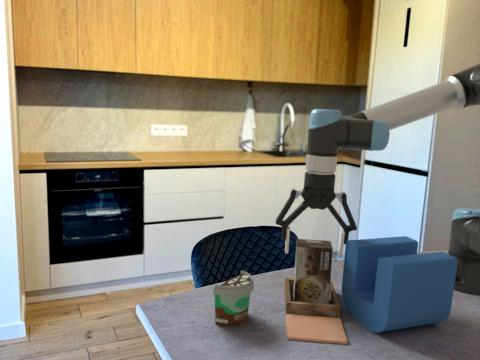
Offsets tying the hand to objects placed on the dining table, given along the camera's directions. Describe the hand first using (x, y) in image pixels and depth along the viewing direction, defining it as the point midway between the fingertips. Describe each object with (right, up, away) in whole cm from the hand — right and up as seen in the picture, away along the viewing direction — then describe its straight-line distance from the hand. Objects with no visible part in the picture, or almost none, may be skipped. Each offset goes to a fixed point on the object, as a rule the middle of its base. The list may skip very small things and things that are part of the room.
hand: (313, 253), depth 117 cm
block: (+19, -15, -5) cm, 25 cm away
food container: (-19, -14, -9) cm, 26 cm away
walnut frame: (-1, -13, +2) cm, 13 cm away
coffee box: (-1, -13, +2) cm, 13 cm away
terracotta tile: (-2, -15, -12) cm, 20 cm away
